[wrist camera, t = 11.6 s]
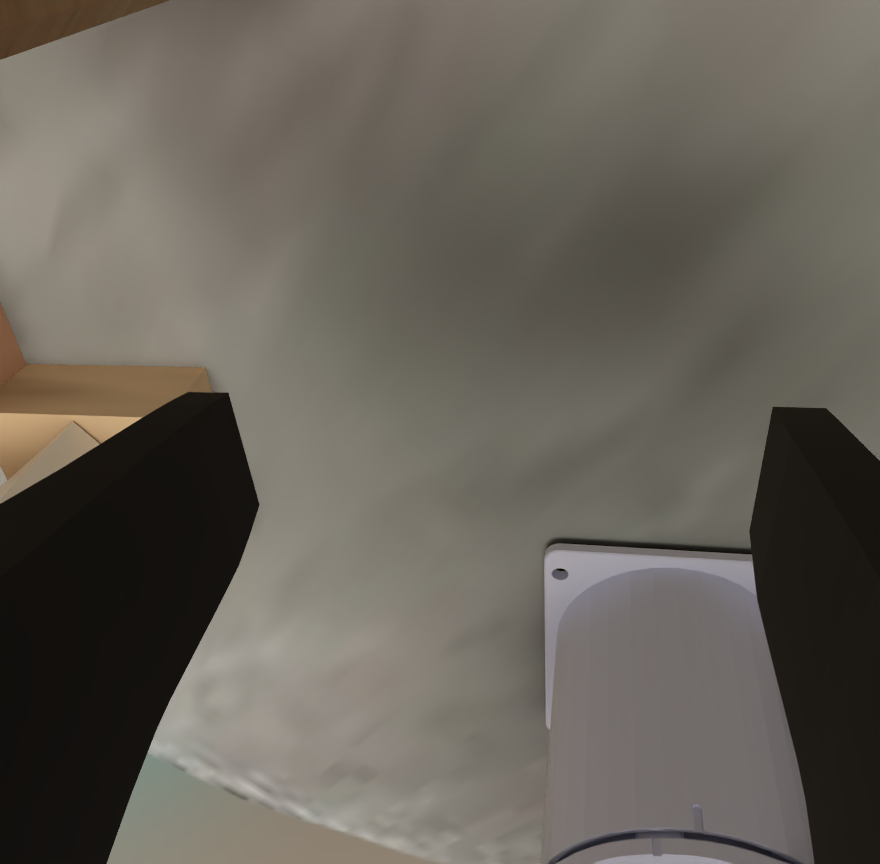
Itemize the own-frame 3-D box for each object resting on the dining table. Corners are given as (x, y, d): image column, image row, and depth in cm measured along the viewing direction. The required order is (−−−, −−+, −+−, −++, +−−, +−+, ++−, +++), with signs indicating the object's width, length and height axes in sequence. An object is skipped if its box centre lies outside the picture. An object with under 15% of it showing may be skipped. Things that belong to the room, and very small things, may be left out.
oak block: (253, 512, 28) (219, 575, 25) (95, 503, 29) (49, 563, 26) (210, 361, 24) (166, 418, 22) (33, 358, 25) (-27, 412, 23)
